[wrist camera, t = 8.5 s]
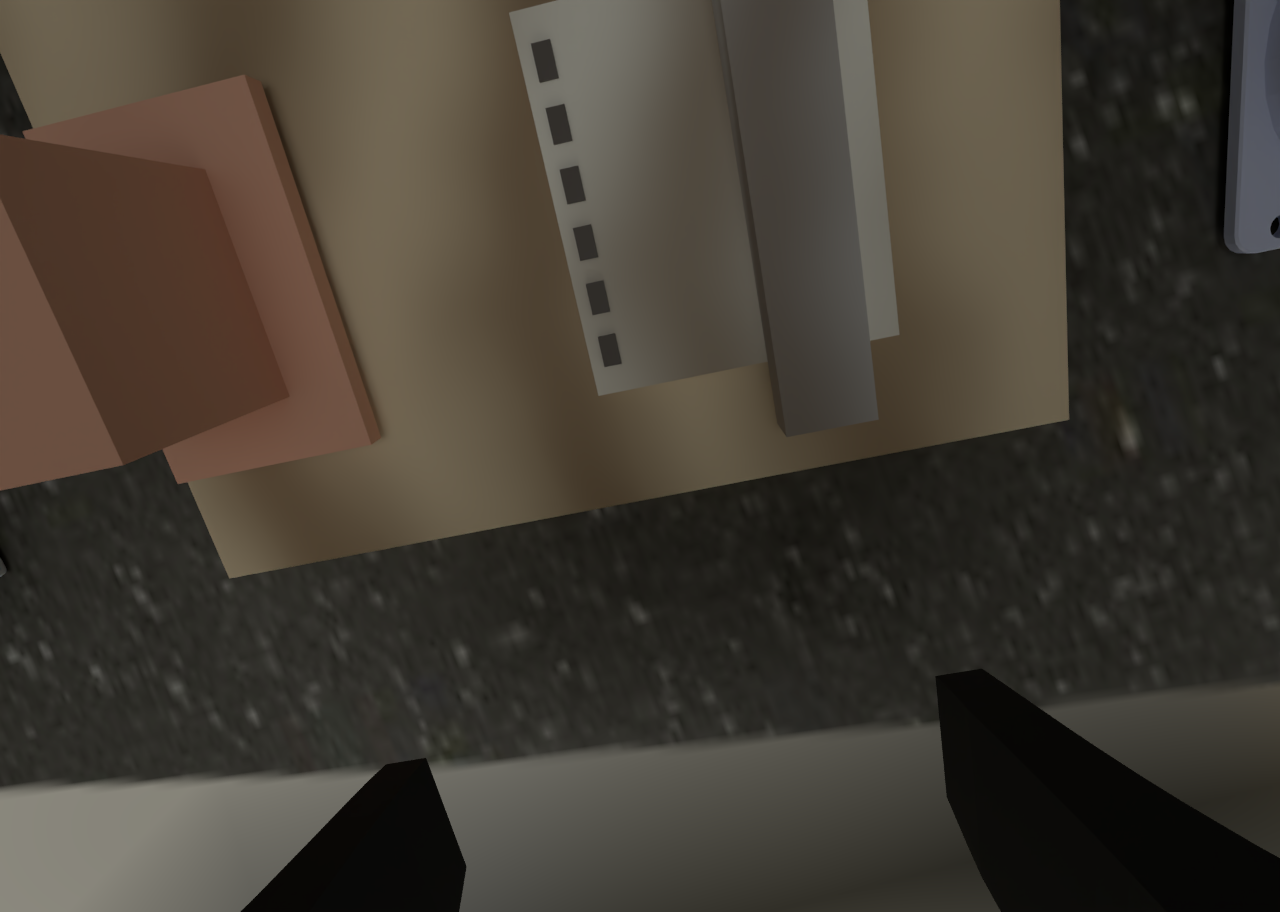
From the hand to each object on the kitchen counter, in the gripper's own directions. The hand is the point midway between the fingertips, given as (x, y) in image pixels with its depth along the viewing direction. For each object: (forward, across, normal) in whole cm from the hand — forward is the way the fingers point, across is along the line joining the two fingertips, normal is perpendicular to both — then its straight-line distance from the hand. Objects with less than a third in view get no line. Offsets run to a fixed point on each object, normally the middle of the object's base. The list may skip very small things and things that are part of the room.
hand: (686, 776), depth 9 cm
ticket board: (+9, +1, -8) cm, 12 cm away
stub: (+8, +9, -8) cm, 15 cm away
